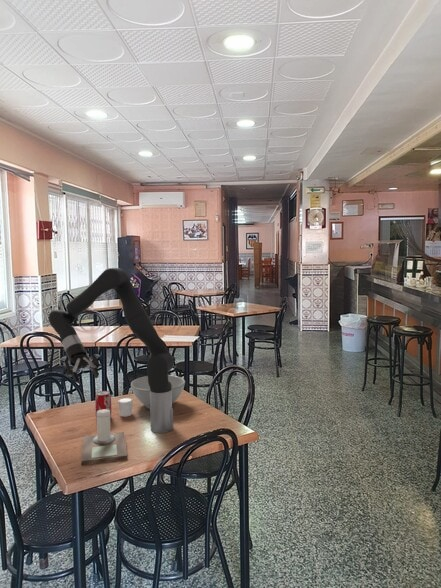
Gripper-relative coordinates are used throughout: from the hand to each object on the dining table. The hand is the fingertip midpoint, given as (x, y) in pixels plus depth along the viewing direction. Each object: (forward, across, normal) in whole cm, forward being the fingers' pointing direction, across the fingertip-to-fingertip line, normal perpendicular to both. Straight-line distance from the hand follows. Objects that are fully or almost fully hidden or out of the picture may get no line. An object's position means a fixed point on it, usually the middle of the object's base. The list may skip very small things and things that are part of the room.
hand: (87, 379), depth 176 cm
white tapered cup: (+10, +24, +24) cm, 35 cm away
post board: (+28, -3, +5) cm, 29 cm away
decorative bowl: (+12, +42, +22) cm, 49 cm away
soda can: (+8, +14, +26) cm, 30 cm away
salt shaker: (+24, 0, +7) cm, 25 cm away
